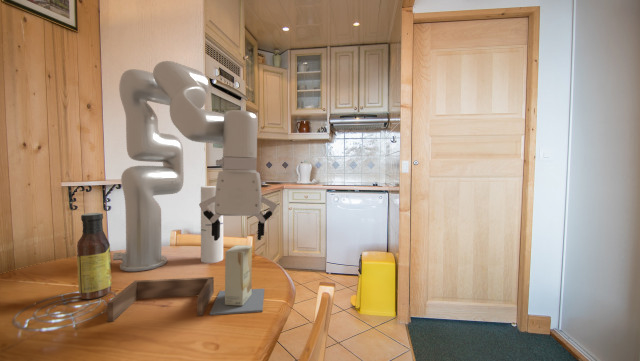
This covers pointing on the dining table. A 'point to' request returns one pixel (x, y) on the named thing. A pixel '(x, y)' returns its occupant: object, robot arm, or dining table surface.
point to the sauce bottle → (93, 258)
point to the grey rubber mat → (249, 306)
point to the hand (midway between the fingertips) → (238, 238)
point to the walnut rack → (162, 293)
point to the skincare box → (238, 275)
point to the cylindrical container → (210, 231)
